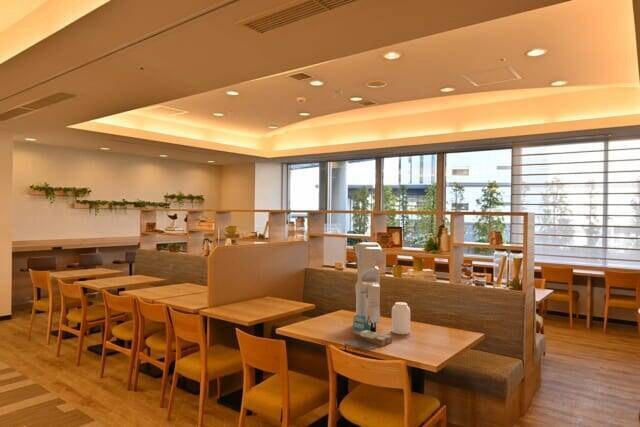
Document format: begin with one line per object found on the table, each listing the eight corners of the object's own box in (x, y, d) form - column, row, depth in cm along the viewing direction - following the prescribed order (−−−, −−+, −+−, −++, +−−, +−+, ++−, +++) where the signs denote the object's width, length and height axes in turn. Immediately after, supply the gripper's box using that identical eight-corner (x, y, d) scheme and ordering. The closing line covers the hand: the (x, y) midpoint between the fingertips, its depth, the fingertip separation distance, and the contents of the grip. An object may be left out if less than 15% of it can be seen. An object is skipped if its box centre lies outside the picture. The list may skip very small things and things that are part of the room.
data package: (353, 333, 292) (353, 315, 291) (355, 331, 295) (356, 314, 295) (369, 336, 286) (369, 318, 286) (372, 334, 290) (372, 316, 289)
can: (413, 332, 296) (414, 303, 296) (401, 335, 288) (402, 305, 288) (399, 328, 305) (400, 300, 305) (387, 331, 298) (388, 302, 297)
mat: (356, 339, 277) (356, 339, 277) (380, 346, 265) (380, 345, 265) (344, 344, 268) (344, 343, 268) (368, 350, 256) (368, 350, 256)
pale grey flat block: (365, 333, 277) (365, 330, 277) (377, 336, 271) (377, 332, 271) (360, 335, 272) (360, 331, 272) (372, 338, 266) (372, 334, 266)
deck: (365, 335, 286) (365, 329, 286) (391, 342, 273) (392, 335, 273) (354, 339, 277) (355, 333, 277) (381, 346, 264) (381, 339, 264)
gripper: (375, 301, 283) (374, 329, 283) (361, 305, 272) (361, 334, 272) (385, 303, 278) (384, 331, 278) (371, 306, 267) (371, 336, 267)
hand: (373, 333), depth 275 cm, fingers closed
